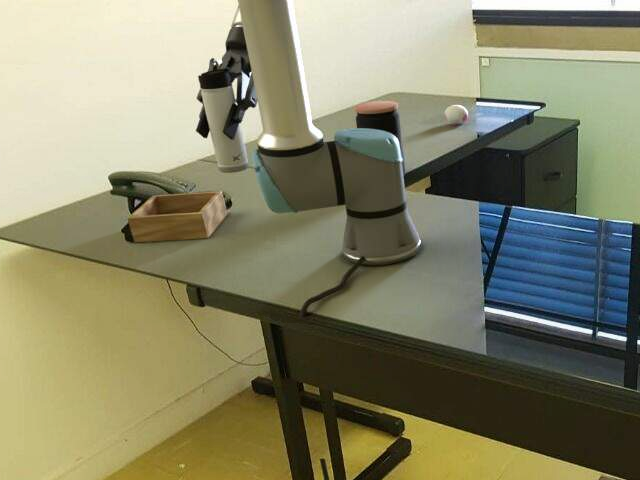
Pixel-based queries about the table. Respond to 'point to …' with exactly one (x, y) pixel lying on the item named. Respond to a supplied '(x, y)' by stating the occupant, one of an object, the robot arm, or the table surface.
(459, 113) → the stress ball
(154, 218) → the crate
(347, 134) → the robot arm
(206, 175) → the table surface
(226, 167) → the travel mug
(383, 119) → the coffee jar
